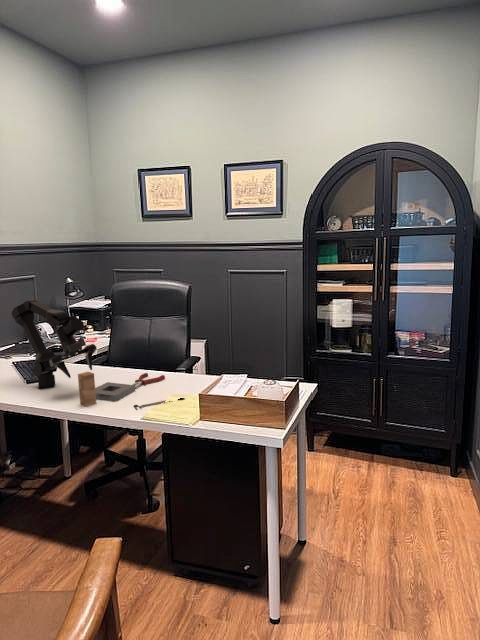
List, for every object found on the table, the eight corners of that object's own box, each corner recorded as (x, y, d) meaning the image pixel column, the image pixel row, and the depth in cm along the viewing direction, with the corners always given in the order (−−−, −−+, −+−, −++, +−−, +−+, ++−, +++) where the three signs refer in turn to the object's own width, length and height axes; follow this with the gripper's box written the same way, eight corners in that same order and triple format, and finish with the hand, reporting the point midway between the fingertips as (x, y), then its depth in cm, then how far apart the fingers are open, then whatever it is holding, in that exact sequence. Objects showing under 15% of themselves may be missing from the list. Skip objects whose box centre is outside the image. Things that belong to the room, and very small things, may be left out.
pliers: (119, 389, 199) (118, 384, 199) (145, 377, 217) (145, 371, 217) (140, 393, 195) (140, 387, 194) (166, 379, 213) (166, 374, 212)
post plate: (87, 397, 188) (86, 392, 187) (107, 387, 201) (107, 382, 200) (115, 401, 183) (115, 395, 182) (135, 390, 196) (134, 385, 195)
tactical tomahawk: (137, 414, 172) (137, 411, 171) (133, 407, 177) (132, 405, 177) (189, 404, 181) (189, 401, 181) (183, 397, 187) (183, 395, 186)
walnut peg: (80, 404, 180) (77, 374, 178) (90, 401, 184) (87, 371, 182) (86, 406, 178) (83, 376, 175) (96, 403, 181) (94, 373, 179)
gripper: (47, 341, 179) (62, 377, 177) (92, 327, 189) (107, 361, 188) (43, 348, 187) (57, 383, 186) (86, 335, 198) (100, 367, 197)
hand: (80, 373), depth 189 cm, fingers open, 9 cm apart
